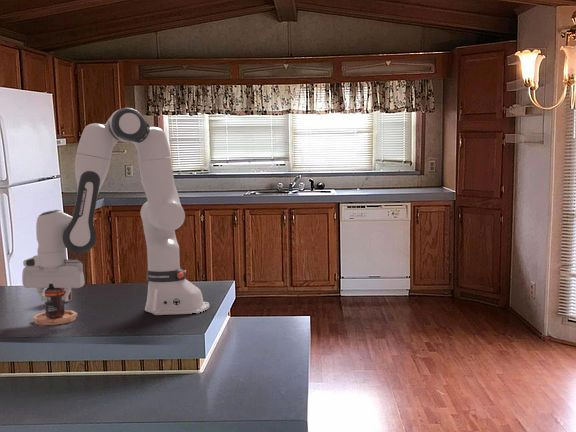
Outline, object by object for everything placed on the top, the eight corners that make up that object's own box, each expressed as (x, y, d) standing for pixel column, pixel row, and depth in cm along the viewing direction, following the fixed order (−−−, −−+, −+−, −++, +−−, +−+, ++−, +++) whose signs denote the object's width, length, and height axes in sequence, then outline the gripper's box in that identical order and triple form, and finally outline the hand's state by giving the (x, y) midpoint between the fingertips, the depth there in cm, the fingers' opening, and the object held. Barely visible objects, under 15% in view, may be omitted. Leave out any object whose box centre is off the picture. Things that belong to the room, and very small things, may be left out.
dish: (82, 315, 208) (82, 310, 208) (64, 325, 195) (64, 320, 195) (46, 315, 209) (46, 310, 209) (26, 325, 196) (25, 319, 196)
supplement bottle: (65, 313, 206) (64, 280, 205) (64, 317, 200) (63, 283, 199) (46, 314, 204) (45, 281, 203) (44, 318, 198) (43, 284, 197)
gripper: (86, 258, 202) (88, 298, 203) (28, 258, 205) (31, 298, 206) (77, 261, 196) (80, 303, 197) (18, 261, 198) (21, 302, 200)
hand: (54, 300), depth 202 cm, fingers closed on supplement bottle, 6 cm apart
